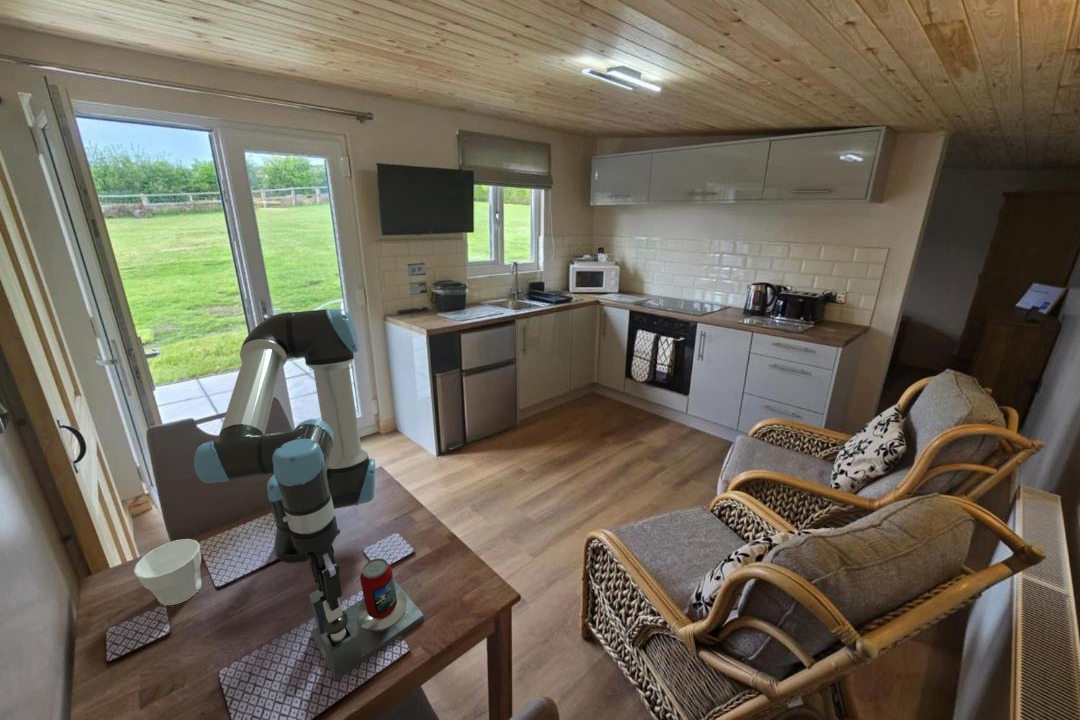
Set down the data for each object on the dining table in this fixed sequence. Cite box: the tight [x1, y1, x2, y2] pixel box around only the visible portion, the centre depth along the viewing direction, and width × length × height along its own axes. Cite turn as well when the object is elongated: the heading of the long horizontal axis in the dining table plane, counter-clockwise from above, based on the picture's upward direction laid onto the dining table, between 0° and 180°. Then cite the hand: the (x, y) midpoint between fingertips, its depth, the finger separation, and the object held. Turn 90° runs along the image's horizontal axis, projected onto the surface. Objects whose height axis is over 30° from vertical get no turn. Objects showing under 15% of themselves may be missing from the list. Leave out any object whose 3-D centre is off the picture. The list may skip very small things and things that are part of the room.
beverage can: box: [359, 557, 397, 618], centre depth 102 cm, size 7×7×12 cm
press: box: [308, 579, 425, 683], centre depth 99 cm, size 14×20×10 cm
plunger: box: [323, 610, 348, 647], centre depth 91 cm, size 4×4×9 cm
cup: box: [133, 538, 203, 605], centre depth 109 cm, size 12×12×11 cm
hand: (334, 616), depth 90 cm, fingers closed
